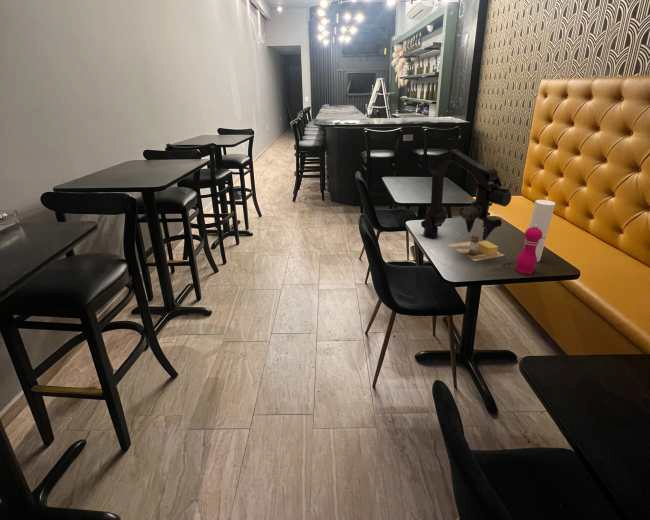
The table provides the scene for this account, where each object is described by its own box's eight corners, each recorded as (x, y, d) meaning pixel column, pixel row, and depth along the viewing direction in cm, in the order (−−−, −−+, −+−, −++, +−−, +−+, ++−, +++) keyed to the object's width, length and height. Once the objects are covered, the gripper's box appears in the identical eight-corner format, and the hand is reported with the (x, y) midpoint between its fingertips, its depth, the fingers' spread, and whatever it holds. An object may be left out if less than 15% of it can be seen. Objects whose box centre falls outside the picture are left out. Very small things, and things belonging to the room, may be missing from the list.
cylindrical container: (538, 256, 169) (553, 200, 158) (541, 262, 163) (556, 205, 152) (520, 253, 171) (534, 199, 160) (522, 260, 165) (536, 204, 154)
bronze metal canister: (466, 253, 168) (469, 235, 165) (472, 251, 169) (476, 234, 166) (471, 255, 165) (475, 238, 162) (477, 254, 166) (481, 237, 163)
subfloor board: (447, 247, 177) (447, 244, 176) (475, 242, 182) (475, 239, 181) (473, 264, 162) (474, 261, 161) (503, 258, 167) (504, 255, 166)
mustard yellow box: (475, 249, 171) (477, 242, 170) (484, 247, 173) (486, 240, 171) (487, 255, 165) (488, 248, 164) (496, 254, 167) (498, 246, 166)
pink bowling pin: (536, 275, 153) (549, 228, 144) (516, 274, 154) (528, 226, 145) (531, 267, 159) (543, 221, 150) (512, 266, 160) (523, 220, 151)
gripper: (451, 195, 162) (446, 230, 169) (483, 209, 146) (476, 246, 153) (473, 193, 165) (467, 227, 172) (506, 205, 150) (498, 242, 157)
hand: (476, 235), depth 163 cm, fingers open, 9 cm apart
